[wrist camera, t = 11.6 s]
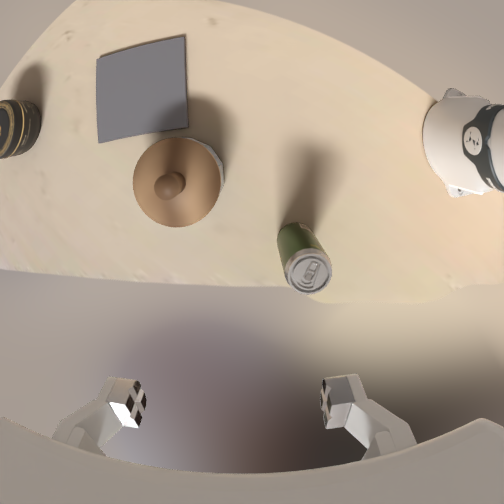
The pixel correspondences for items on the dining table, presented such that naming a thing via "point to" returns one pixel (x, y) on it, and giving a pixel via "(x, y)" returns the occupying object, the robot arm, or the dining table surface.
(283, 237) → the beer can
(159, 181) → the lid
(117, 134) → the mat
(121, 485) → the robot arm
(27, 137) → the jar
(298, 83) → the dining table surface
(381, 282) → the dining table surface
